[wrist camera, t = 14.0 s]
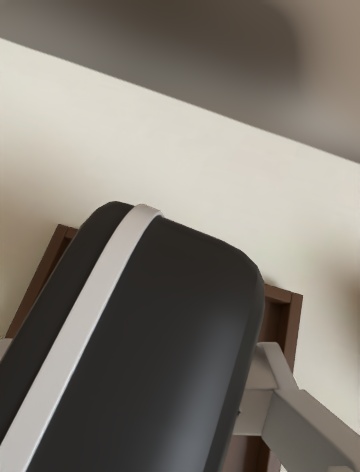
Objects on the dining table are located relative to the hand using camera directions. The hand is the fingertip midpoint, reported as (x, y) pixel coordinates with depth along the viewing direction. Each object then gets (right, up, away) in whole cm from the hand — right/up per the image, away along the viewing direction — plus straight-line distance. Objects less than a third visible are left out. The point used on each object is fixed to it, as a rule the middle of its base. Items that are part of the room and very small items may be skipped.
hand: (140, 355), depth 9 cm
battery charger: (0, -3, +6) cm, 6 cm away
